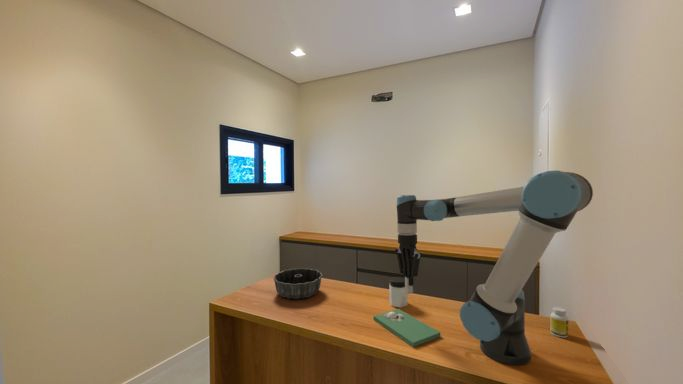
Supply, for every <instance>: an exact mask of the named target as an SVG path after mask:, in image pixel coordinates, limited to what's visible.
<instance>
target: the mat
mask: <svg viewBox="0 0 683 384" xmlns="http://www.w3.org/2000/svg"><path fill="white" fill-rule="evenodd" d="M390 312H395V313H396V315H397V318H396V319H390V318H388V314H389V313H390ZM373 321H374V322H376V323H377V324H379V325H381V326H382V327H384V329H386V330H387V331H389V332H391V333H392V334H393V335H395V336H397V337H398V338H399V339H400V340H402V341H404V342H405V343H406V344H408V345H409V346H410V347H412V348H414V347H417V346H420V345H422V344H425V343H428V342H430V341H432V340H435V339H437V338H441V331H439V330H437V329H435V328H434V327H432V326H430V325H428V324H426V323H425V322H423V321H421V320H420V319H417V318H416V317H414V316H412V315H410V314H409V313H407V312H405V311H403V310H401V309H400V308H395V309H393V310H389V311H386V312H383V313H379V314H376V315H373Z"/></svg>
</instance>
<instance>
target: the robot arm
mask: <svg viewBox="0 0 683 384" xmlns="http://www.w3.org/2000/svg"><path fill="white" fill-rule="evenodd" d="M593 196H594V191H593V186H592V185H591V183H590V181H589V180H588V179H587V178H586V177H584V176H583V175H580V174H578V173H575V172H569V171H562V170H548V171H543V172H540V173H538V174H536V175H533V176H532V177H530V179H528V180H527V181H526V183H525V184H524V186H520V187H513V188H507V189H499V190H494V191H488V192H482V193H475V194H470V195H469V194H467V195H463V196H455V197H451V198H442V199H441V198H440V199H422V200H421V199H417V196H416V195H415V194H403V195H398V196H397V197H396V214H397V215H396V216H397V217H396V218H397V223H396V224H397V227H396V228H397V233H398V235H397V243H398V244H399V246H398V248H395V249H394V251H395V252H394V253H395V254H396V258H397V263H398V269H399V273H400V274H402V275H403V278H404V284H405V293H406V294H407V295H411V294H413V293H414V283H415V282H414V278H416V277H418V275H419V269H420V268H419V267H420V262H421V261H420V260H421V258H422V256H423V253H421V252H420V253H419V252H418V248H417V244H418V235H417V233H418V229H417V227H418V226H417V225H418V224H417V221H419V220H420V221H421V220H422V221H430V222H441V221H443V220H444V219H450V218H458V217H460V218H461V217H469V216H478V215H487V214H488V215H489V214H497V213H498V214H499V213H511V212H517V213H518V214H519V220H518V221H517V224H516V226H515V227H514V229H513V231H512V233H511V235H510V236H509V239H508V240H507V243H506V244H505V246H504V248H503V249H502V252H501V253H500V256H499V257H498V259H497V261H496V263H495V265H494V266H493V268H492V271H490V273H489V275H488V278H487V279H486V281H485V283H482V284H478V285H477V287H476V288H475V290H474V291H473V294H472V296H471V298H470V299H469V300H468V301H465V302H464V303H463V304H462V305H461V307H460V310H459V318H460V321H461V323H462V326H463V327H464V328H465V330H466V332H468V333H469V334H470V335H471V336H472V337H473V338H475V339H476V340H479V348H480V349H481V350H480V351H481V352H483V353H484V355H486V356H487V357H489V358H490V359H492V360H494V361H496V362H499V363H501V364H506V365H512V366H525V365H527V364H529V363H530V362H531V360H532V351H531V348H530V345H529V342H528V339H527V337H526V334H525V333H526V332H525V326H526V325H525V323H526V322H525V315H526V313H525V312H526V311H525V306H526V305H525V303H526V302H525V301H526V298H525V292H524V290H523V288H524V287H525V285H526V283H527V281H528V280H529V278H530V277H531V274H533V271H534V270H535V269H536V267H537V265H538V263H539V261H540V260H541V258H542V256H543V255H544V254H545V251H546V250H547V248H548V246H549V245H550V243H551V241H552V240H553V238H554V236H555V235H556V234H557V233H561V232H564V231H566V230H567V229H568V228H569V225H570V224H571V222H572V221H573V220H574V218H575V216H576V214H577V212H581V211H582V210H583V209H585V208H586V207H588V205H590V203H591V201H592V200H593Z"/></svg>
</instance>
